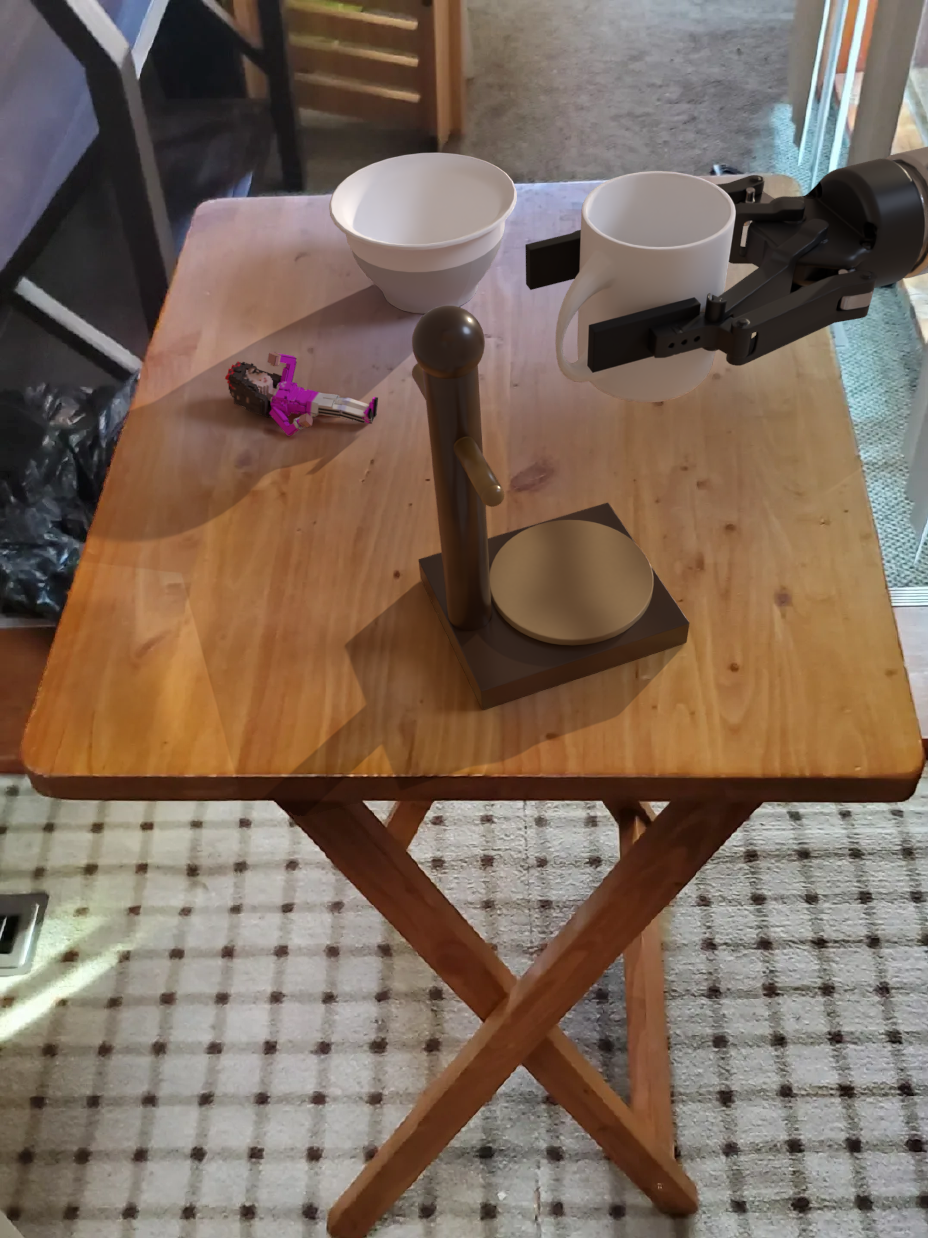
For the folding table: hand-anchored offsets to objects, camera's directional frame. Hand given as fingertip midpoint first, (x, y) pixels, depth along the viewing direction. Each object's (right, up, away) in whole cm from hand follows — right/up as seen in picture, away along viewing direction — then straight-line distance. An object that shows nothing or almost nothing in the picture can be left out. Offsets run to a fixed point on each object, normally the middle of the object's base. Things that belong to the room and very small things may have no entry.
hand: (558, 306), depth 63 cm
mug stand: (0, -18, +8) cm, 19 cm away
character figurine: (-18, -2, +23) cm, 30 cm away
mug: (+5, -3, +5) cm, 8 cm away
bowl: (-9, +12, +34) cm, 37 cm away
